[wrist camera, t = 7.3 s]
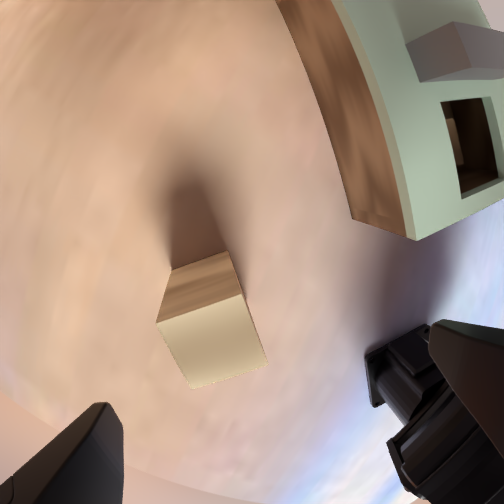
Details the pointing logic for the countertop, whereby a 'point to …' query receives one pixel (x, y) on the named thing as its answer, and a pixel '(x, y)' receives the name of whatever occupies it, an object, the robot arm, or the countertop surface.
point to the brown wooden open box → (374, 119)
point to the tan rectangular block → (209, 322)
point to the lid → (429, 97)
